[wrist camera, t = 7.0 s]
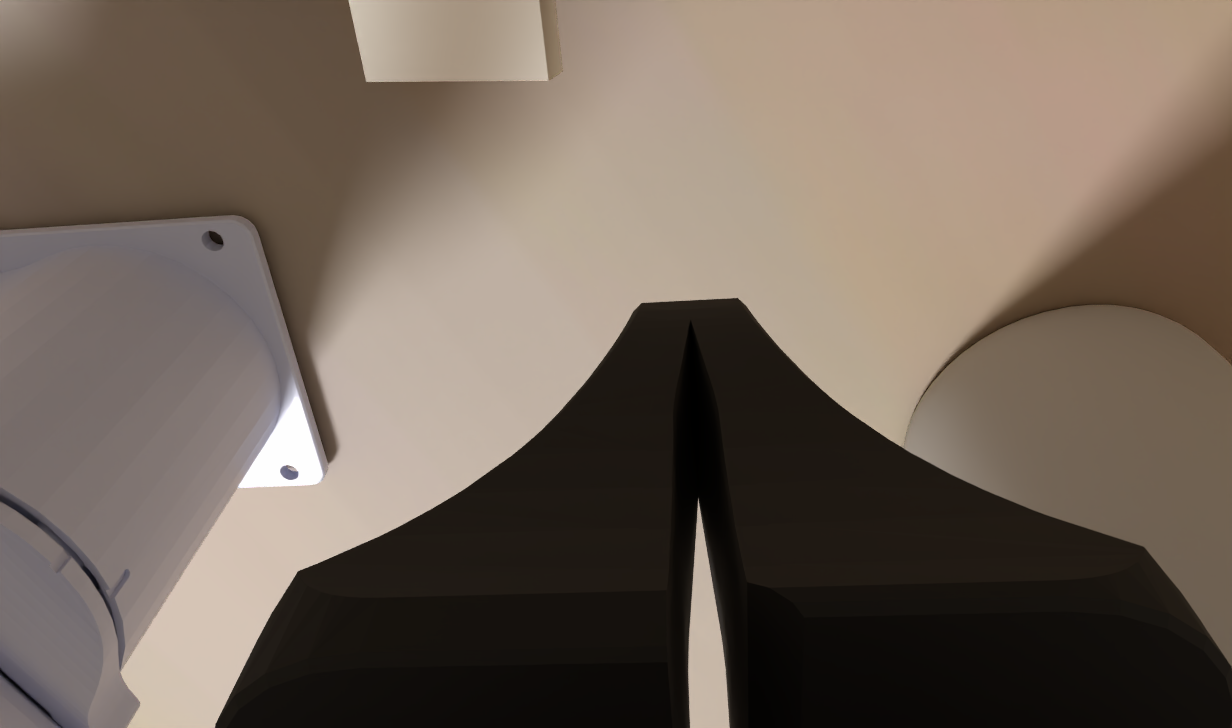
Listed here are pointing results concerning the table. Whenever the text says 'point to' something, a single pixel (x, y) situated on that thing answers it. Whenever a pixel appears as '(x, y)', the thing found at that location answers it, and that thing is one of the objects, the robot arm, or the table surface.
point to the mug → (1100, 436)
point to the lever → (457, 40)
